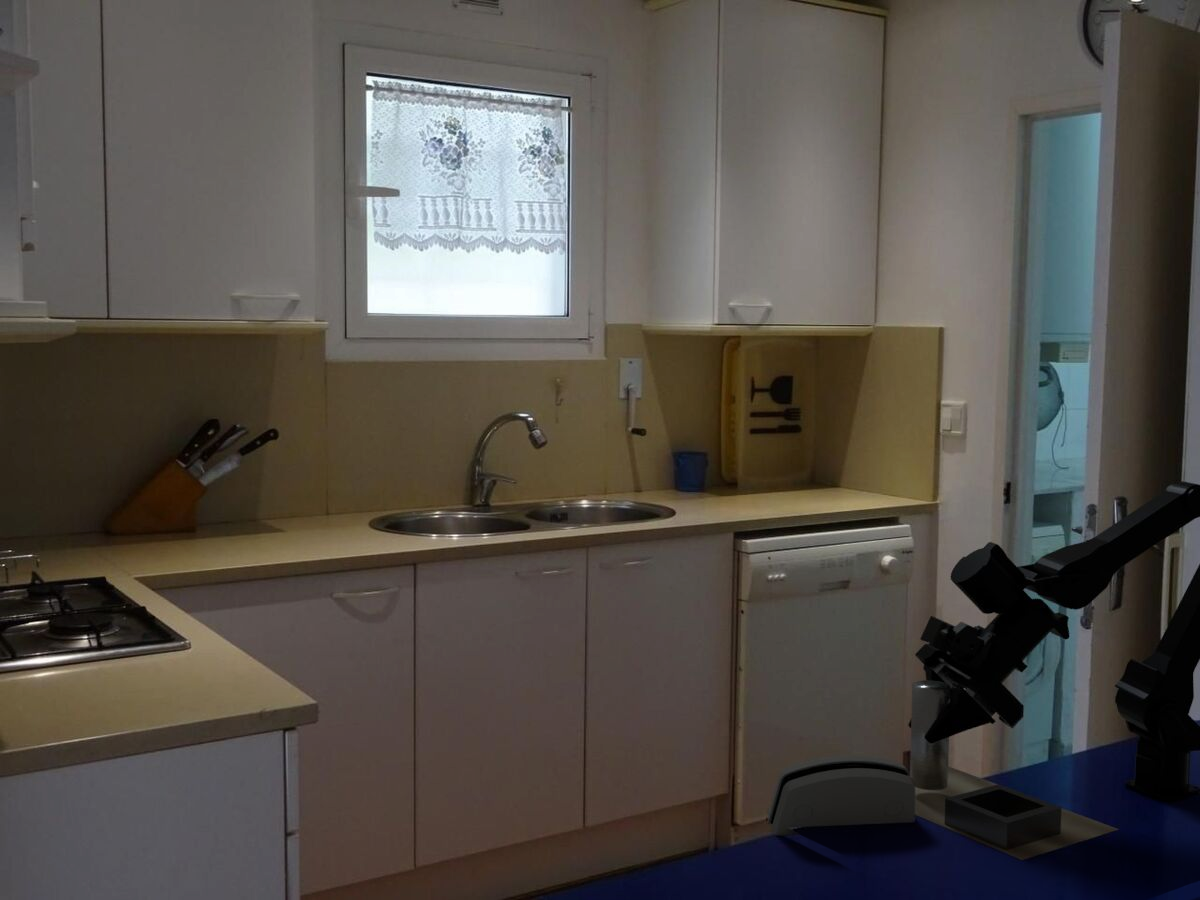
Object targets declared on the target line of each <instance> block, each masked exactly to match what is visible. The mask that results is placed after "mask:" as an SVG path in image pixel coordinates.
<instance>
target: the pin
mask: <svg viewBox="0 0 1200 900" xmlns="http://www.w3.org/2000/svg"><path fill="white" fill-rule="evenodd" d="M949 702H950V685H949V684H947V683H944V682H939V681H929V680H926V679H925V680H918V681H914V682H913V683H911V715H910V717H911V719H910V720H911V728H910V764H909V766H910V767H909V768H910V769H909V773H910V777H911V778H912V779H913V781H914V785H915V787H917V788H920V789H925V790H941V789H945V788H947V787H948V766H949V761H950V760H949V756H950V755H949V754H950V751H949V750H950V737H947V738H945V739H942V740H940V741H937V742H934V743H932V744H931V743H929V742H928V741H927V740H926V739H925V738H924V737H925V735H926V733H927V732H928V730H929V729H930V727H931V726H932V725H933V723H934V722H935V721H936V719H937V718H938V717H939V715H940V714H941V713H942V712H943V710H944V709H945V708H946V706H947V705H948V704H949Z"/></svg>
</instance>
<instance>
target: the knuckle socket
mask: <svg viewBox="0 0 1200 900" xmlns="http://www.w3.org/2000/svg"><path fill="white" fill-rule="evenodd" d="M997 784H998V783H997ZM1061 809H1063V808H1062V807H1061V806H1060V805H1056V804H1054V803H1050V802H1048V801H1046V800H1044V799H1043V800H1042V799H1041V798H1037V797H1034V796H1032V795H1028V794H1026V793H1024V792H1021V791H1018V790H1016V789H1013V788H1010V787H1007V786H1004V785H1002V784H1000V783H999V784H998V785H994V786H990V787H986V788H982V789H979V790H975V791H971V792H967V793H964V794H960V795H956V796H952V797H949V798H945V825H947V826H950V827H952V828H955V829H957V830H959V831H962V832H964V833H967V834H969V835H971V836H974V837H976V838H979V839H981V840H983V841H986V842H988V843H990V844H993V845H995V846H998V847H1000V848H1002V849H1005V850H1009V849H1012V848H1015V847H1019V846H1022V845H1025V844H1028V843H1032V842H1035V841H1038V840H1042V839H1045V838H1048V837H1051V836H1055V835H1058V834H1061ZM1001 815H1002V816H1001Z"/></svg>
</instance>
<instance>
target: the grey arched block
mask: <svg viewBox="0 0 1200 900" xmlns="http://www.w3.org/2000/svg"><path fill="white" fill-rule="evenodd" d="M769 806H770V807H769V808H767V810H766V814H767V816H765V821H766V822H767V824H769V825H771V829H770V832H771V834H774V836H793V835H797V836H798V835H801V833H799V832H797V831H795V830H793V829H792V828H809V827H812V828H813V827H830V826H831V827H832V826H855V825H856V826H857V825H879V824H880V825H881V824H901V823H903V824H904V823H915V821H916V819H915V816H916V815H915V785H914V781H913V779H912V778H911V777H910V770H909V769H908V768H906V766H905V765H904V764H903V763H900V762H897V761H894V760H889V759H885V758H880V757H874V756H867V755H866V756H863V755H840V756H839V755H838V756H828V757H824V758H823V757H822V758H821V757H820V758H816V759H812V760H806V761H803V762H800V763H796V764H793V765H790V766H787V767H784V768H783V769H782V770H781V771H780V772H779V774H778V778H777V781H776V785H775V789H774V793H773V795H772V798H771V803H770V805H769Z"/></svg>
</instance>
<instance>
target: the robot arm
mask: <svg viewBox="0 0 1200 900" xmlns="http://www.w3.org/2000/svg"><path fill="white" fill-rule="evenodd" d="M1197 518H1200V484H1199V483H1193V482H1188V481H1183V480H1181V481H1180V480H1179V481H1178V480H1177V481H1175V482H1173V483H1171V484H1169V485H1168V486H1167V487H1166V488H1165V490H1164V491H1162V492H1161V493H1160V494H1158V495H1157V496H1155V497H1153V498H1152V499H1150V500H1149V501H1147V502H1146V503H1144V504H1143V505H1141V506H1140V507H1138V508H1137V509H1134V510H1133V511H1132V512H1131V513H1129V514H1127V515H1126V516H1124V517H1122V518H1121V519H1120V520H1118V521H1117V522H1115V523H1114V524H1113V525H1110V526H1109V527H1107V528H1106V529H1105V530H1104V531H1101V532H1100V533H1099V534H1097V535H1096V536H1094V537H1092V538H1089V539H1088V540H1085V541H1081V542H1078V543H1075V544H1069V545H1066V546H1065V545H1064V546H1063V547H1060V548H1059V549H1056V550H1053V551H1052V552H1049V553H1047V554H1045V555H1043V556H1041V557H1039V559H1037V560H1036V561H1035V563H1031V564H1026V565H1019V566H1017V565H1016V564H1015V563H1014V562H1013V561H1012V560H1011V559H1010V558H1009V557H1008V556H1007V554H1006V552H1005V550H1004V549H1003V548H1002V547H1001V546H1000V545H999V544H997V543H995V542H992V541H989V542H987V544H985V545H984V547H982V548H978V549H976V550H973V551H972V552H970V553H969V554H968V555H966V556H962V557H961V558H960V559H959V560H958V562H957V563H956V564H955V566H953V569H951V572H950V580H951V582H952V583H953V584H954V585H955V586H956V587H957V588H958V589H959V590H960V591H961V592H962V594H964V595H965V596H966V597H967V598H968V599H969V601H971V602H972V604H973V605H974V606H975V607H976V608H977V609H978V610H979V611H980V612H981V613H982V614H984V615H985V614H986V615H989V614H996V616H995V617H994V618H993V619H992V620H991V621H990V622H989V624H988V625H986V626H985V627H983V626H980V625H976V626H972V625H969V624H967V623H965V622H963V621H960V622H958V624H956V625H953V624H951V623H948V622H946V621H944V620H942V619H940V618H937V617H935V616H933V615H930V617H929V619H928V621H927V622H926V623H927V624H926V626H925V628H924V630H923V632H922V634H921V637H920V639H919V640H921V641H922V642H926V643H925V644H923V646H921V647H920V649H918V651H917V652H916V653H914V654H915V657H916V658H917V659H918V660H919V661H920V662H921V663H922V664H923V671H924V672H925V680H929V681H939V682H944V683H947V684H949V685H950V702H949V704H948V705H947V706H946V708H945V709H944V710H943V712H942V713H941V714H940V715H939V717H938V718H937V719H936V721H935V722H934V723H933V725H932V726H931V727H930V729H929V730H928V732H927V733H926V735H925V737H924V738H925V739H926V740H927V741H928V742H929V743H931V744H932V743H934V742H937V741H940V740H942V739H945V738H947V737H949V738H950V737H952V736H955V735H958V734H960V733H963V732H966V731H969V730H972V729H975V728H978V727H981V726H985V725H988V724H991V725H994V724H995V723H996V720H995V718H993V716H994V715H995V714H997V715H998V720H999V721H1000V722H1001V723H1003V724H1005V725H1006V726H1007V727H1010V728H1011V729H1014V728H1015V726H1016V725H1018V723H1020V721H1021V720H1022V719H1023V718H1024V708H1025V705H1024V704H1022V703H1021V701H1020V700H1019V699H1017V697H1016V696H1015V695H1014V694H1013V693H1012V692H1011V691H1010V689H1008V688H1007V686H1005V685H1004V684H1003V683H1004V682H1005V681H1006V680H1007V679H1008V677H1010V675H1011V674H1012V673H1014V672H1015V671H1018V672H1019V673H1023V672H1024V671H1025V670H1026V669H1027V667H1028V665H1027V664H1026V663H1025V662H1024V661H1025V659H1026V658H1027V657H1028V656H1030V654H1031V653H1032V652H1033V651H1034V649H1036V648H1037V646H1038V645H1040V643H1041V642H1042V641H1043V640H1044V639H1045V638H1046V637H1047V636H1048V635H1049V634H1050V633H1051V634H1052V635H1055V636H1057V637H1059V638H1061V639H1064V640H1068V639H1069V638H1070V630H1069V619H1070V618H1069V616H1068V615H1065V614H1063V613H1062V612H1055V611H1053V609H1052V608H1051V607H1050V606H1049V605H1048V604H1047V603H1046V602H1045V601H1044V600H1046V601H1048V602H1051V603H1052V604H1054V605H1055V604H1056V605H1057V606H1060V607H1062V608H1065V609H1069V610H1074V611H1075V610H1081V609H1083V608H1086V607H1088V606H1089V605H1090V604H1091V603H1092V602H1093V601H1095V599H1096V598H1097V597H1098V596H1099V595H1101V594H1102V592H1104V591H1105V590H1106V589H1107V588H1108V586H1109V584H1110V583H1111V581H1112V579H1113V577H1114V576H1115V574H1116V573H1117V572H1118V571H1120V569H1122V568H1123V567H1124V566H1126V565H1127V564H1128V563H1130V562H1131V561H1133V560H1135V559H1136V558H1138V557H1139V556H1141V555H1142V554H1144V553H1145V552H1147V551H1148V550H1150V549H1151V548H1153V547H1154V546H1156V545H1157V544H1159V543H1160V542H1163V541H1164V540H1165V539H1167V538H1169V536H1171V535H1173V534H1174V533H1175V532H1177V531H1179V530H1180V529H1181V528H1183V527H1185V526H1186V525H1188V524H1189V523H1191V522H1192V521H1194V520H1195V519H1197ZM1025 590H1028V591H1031V592H1033V593H1036V594H1037V595H1038V596H1039V597H1040V598H1036V597H1035V598H1032V597H1031V596H1030V595H1028V594H1027V592H1026V591H1025ZM1041 598H1042V599H1041ZM1177 605H1178V606H1177V608H1176V609H1175V612H1174V613H1173V616H1172V617H1171V619H1170V621H1169V622H1168V625H1167V627H1166V629H1165V631H1164V632H1163V635H1162V637H1161V638H1160V641H1159V642H1158V644H1157V647H1156V648H1155V650H1154V652H1152V653H1151V655H1150V656H1148V657H1147V658H1145V659H1144V660H1143V661H1142V662H1141V661H1139V660H1137V659H1134V658H1130V659H1129V661H1128V662H1127V664H1126V666H1125V669H1124V673H1123V674H1122V677H1120V679H1119V681H1117V682H1116V683H1115V684H1114V687H1115V688H1116V689H1117V691H1116V694H1115V696H1114V698H1115V699H1114V702H1115V705H1116V709H1117V712H1118V713H1119V715H1120V716H1121V717H1122V718H1123V719H1124V721H1125V725H1126V727H1127V729H1128V732H1130V733H1133V734H1135V735H1137V736H1139V739H1138V740H1137V741H1136V754H1135V762H1134V764H1135V766H1134V778H1133V779H1130V780H1127V781H1124V782H1123V783H1124V787H1126V788H1129V789H1132V790H1136V791H1137V792H1141V793H1144V794H1147V795H1150V796H1153V797H1156V798H1159V799H1162V800H1164V801H1169V802H1172V801H1175V800H1178V799H1181V798H1185V797H1188V796H1191V795H1195V794H1198V793H1200V786H1197V785H1193V784H1191V783H1190V776H1191V775H1190V772H1191V771H1190V770H1191V755H1192V754H1191V753H1192V752H1195V751H1197V752H1198V751H1200V724H1198V723H1197V722H1196V721H1195V720H1194V718H1192V717H1191V715H1189V713H1190V712H1191V708H1192V705H1193V701H1194V699H1195V693H1194V689H1195V687H1194V673H1195V670H1196V668H1197V666H1198V665H1199V662H1200V563H1199V565H1198V566H1197V568H1196V570H1195V572H1194V573H1193V576H1192V579H1191V580H1190V582H1189V584H1188V586H1187V587H1186V590H1185V592H1184V594H1183V596H1182V598H1181V600H1180V601H1179V604H1177ZM908 728H910V729H911V719H910V720H909V722H908Z"/></svg>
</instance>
